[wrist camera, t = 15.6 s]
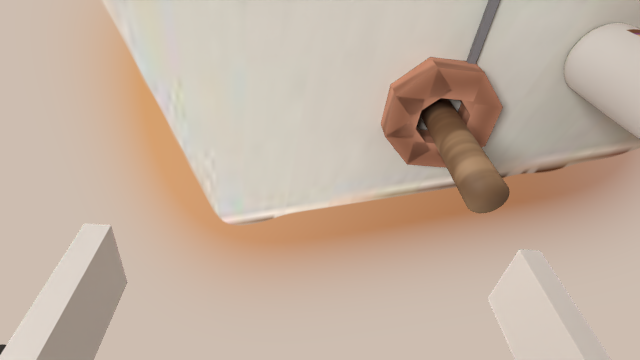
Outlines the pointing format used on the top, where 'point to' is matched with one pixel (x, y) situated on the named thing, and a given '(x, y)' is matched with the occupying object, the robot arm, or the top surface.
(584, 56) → the milk bottle
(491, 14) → the grey thin bar
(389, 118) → the terracotta faceted ring
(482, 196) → the dowel
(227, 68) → the top surface
